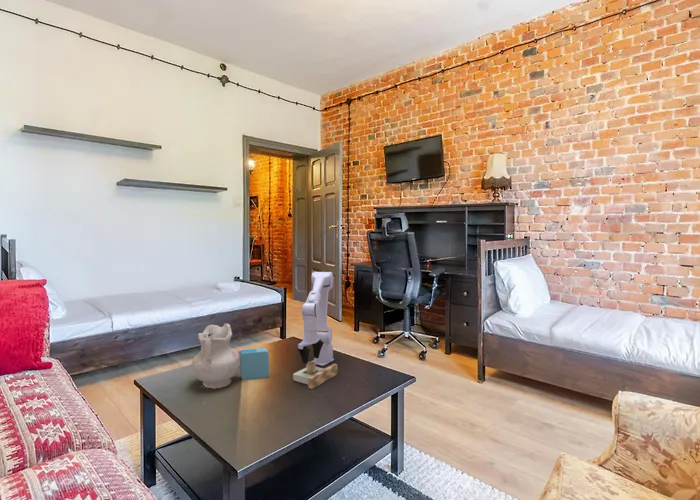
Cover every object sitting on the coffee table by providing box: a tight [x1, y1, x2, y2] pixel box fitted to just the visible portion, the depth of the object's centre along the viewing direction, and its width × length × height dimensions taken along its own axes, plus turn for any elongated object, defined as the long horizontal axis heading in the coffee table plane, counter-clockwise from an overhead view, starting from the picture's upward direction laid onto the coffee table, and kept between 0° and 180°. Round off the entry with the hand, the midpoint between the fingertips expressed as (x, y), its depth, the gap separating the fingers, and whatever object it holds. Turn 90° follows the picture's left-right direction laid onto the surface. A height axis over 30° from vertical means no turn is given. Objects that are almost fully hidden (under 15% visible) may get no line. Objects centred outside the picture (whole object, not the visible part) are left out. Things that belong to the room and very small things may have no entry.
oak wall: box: [307, 363, 338, 390], centre depth 164 cm, size 18×2×4 cm, turn 147°
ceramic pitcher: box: [190, 322, 241, 390], centre depth 160 cm, size 22×20×25 cm
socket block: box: [292, 366, 325, 385], centre depth 167 cm, size 12×10×3 cm
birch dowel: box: [305, 360, 317, 375], centre depth 166 cm, size 4×4×7 cm
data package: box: [239, 347, 270, 381], centre depth 168 cm, size 12×4×12 cm, turn 106°
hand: (310, 360), depth 166 cm, fingers open, 7 cm apart
